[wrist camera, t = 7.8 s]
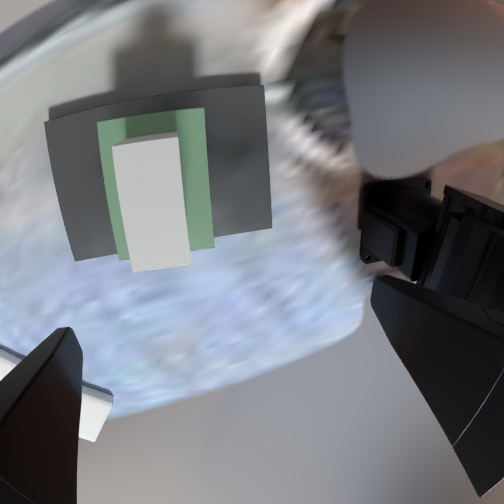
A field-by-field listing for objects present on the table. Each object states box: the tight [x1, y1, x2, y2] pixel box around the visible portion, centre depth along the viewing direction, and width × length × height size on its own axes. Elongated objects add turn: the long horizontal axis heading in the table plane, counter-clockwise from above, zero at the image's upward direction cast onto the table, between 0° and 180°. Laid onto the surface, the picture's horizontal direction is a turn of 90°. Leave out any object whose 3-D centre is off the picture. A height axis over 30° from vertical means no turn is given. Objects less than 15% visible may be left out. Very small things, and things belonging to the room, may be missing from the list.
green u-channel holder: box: [97, 108, 215, 273], centre depth 13 cm, size 5×7×4 cm
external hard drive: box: [0, 348, 114, 442], centre depth 23 cm, size 2×8×12 cm
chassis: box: [44, 85, 272, 261], centre depth 17 cm, size 13×9×3 cm
